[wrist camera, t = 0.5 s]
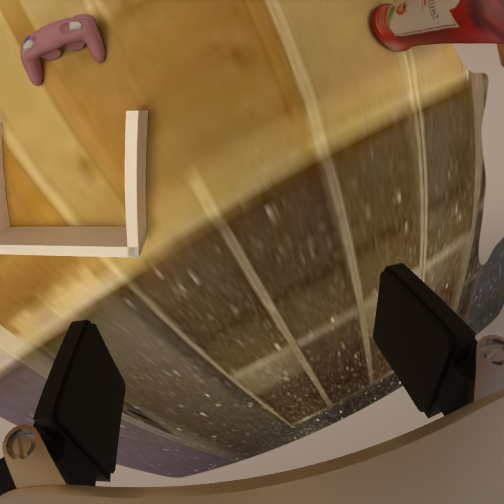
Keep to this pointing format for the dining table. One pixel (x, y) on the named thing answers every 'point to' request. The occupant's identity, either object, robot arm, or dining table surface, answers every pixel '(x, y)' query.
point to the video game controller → (60, 43)
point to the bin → (89, 237)
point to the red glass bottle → (438, 22)
